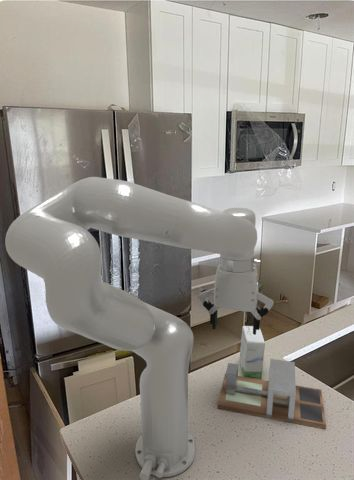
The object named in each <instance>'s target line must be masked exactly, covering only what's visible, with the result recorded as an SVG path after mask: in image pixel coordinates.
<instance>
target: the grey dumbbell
mask: <svg viewBox="0 0 354 480" xmlns="http://www.w3.org/2000/svg"><path fill="white" fill-rule="evenodd" d="M225 374H226V387H225V393H228V394H234V395H235V394H236V391H239V392H244V393H250V394H256V395H261V396H267V397H268V391H263V390H257V389H252V388H246V387H240V386H237V379H238V376H239V375H238V374H239V364H237V363H230V362H228V363H227V366H226V371H225ZM289 398H290V396H288V395H282V394H276V393H274V394H273V404H274V405H279V406H285V407H289Z"/></svg>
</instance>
